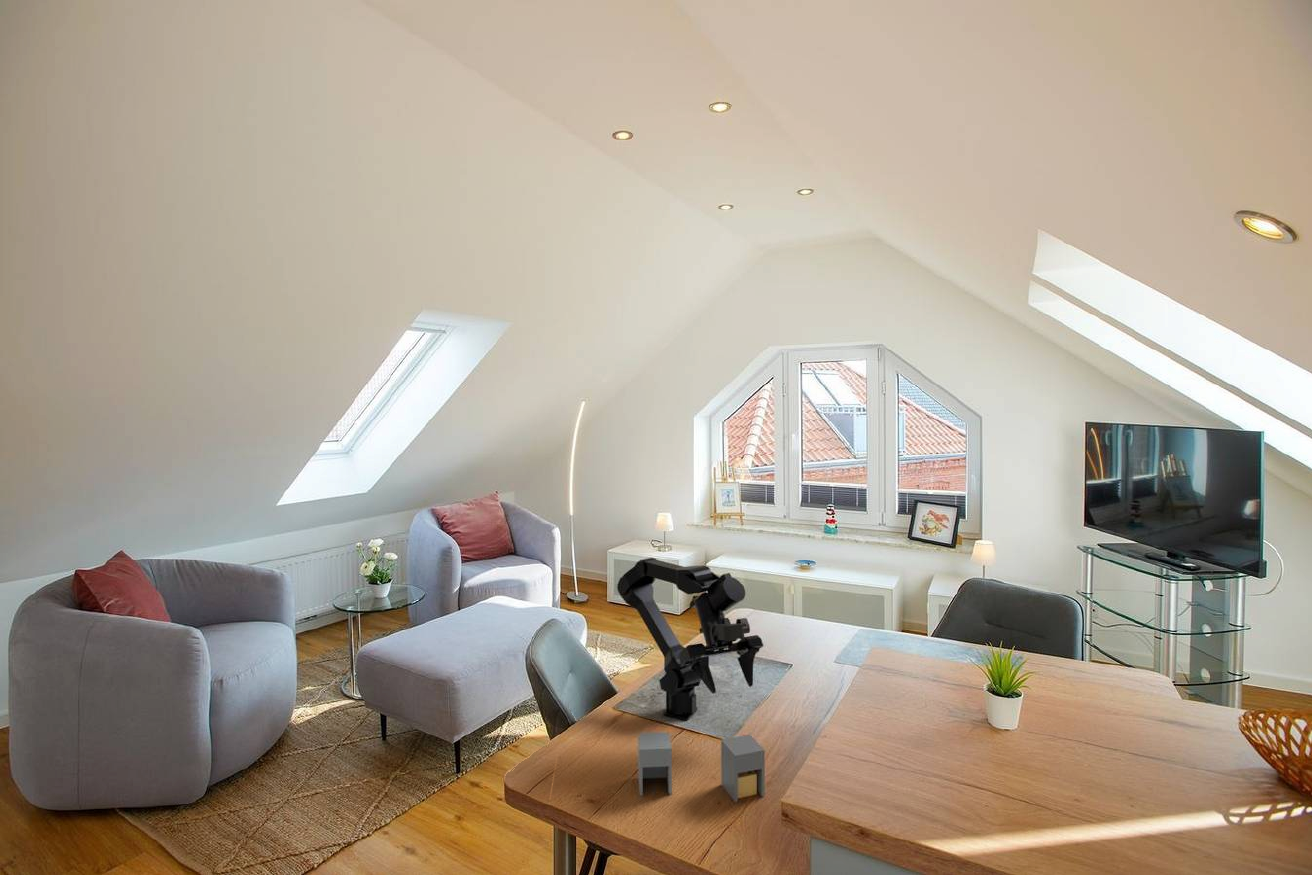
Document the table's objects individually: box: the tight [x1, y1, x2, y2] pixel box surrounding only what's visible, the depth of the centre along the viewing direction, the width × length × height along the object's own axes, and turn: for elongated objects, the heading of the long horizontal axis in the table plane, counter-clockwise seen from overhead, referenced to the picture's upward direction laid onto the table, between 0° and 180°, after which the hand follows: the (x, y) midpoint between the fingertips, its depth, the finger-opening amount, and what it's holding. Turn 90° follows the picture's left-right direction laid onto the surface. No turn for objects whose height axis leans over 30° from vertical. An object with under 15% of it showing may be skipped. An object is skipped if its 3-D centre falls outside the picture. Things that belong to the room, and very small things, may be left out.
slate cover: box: [637, 731, 673, 797], centre depth 127 cm, size 6×6×9 cm
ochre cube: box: [738, 770, 758, 799], centre depth 125 cm, size 4×4×4 cm
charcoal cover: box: [720, 734, 766, 804], centre depth 125 cm, size 6×6×9 cm
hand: (733, 689), depth 139 cm, fingers open, 9 cm apart
